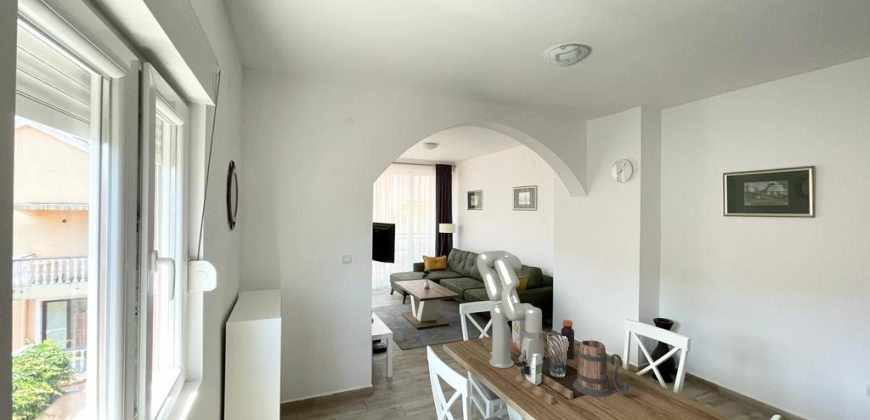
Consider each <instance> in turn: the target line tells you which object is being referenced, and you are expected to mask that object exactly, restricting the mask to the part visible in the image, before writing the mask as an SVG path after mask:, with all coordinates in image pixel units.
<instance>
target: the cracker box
mask: <svg viewBox="0 0 870 420" xmlns="http://www.w3.org/2000/svg"><path fill="white" fill-rule="evenodd" d="M511 322H512V323H511V325H512V326H511V330H512V332H511V334H512V335H511V336H512V338H511V339H512V342H511V343H512V345H513V346H514V347H515V348H516V349H517V350H518V352H519V353H522V343H523V338H524V337H525V320H519V321H511Z"/></svg>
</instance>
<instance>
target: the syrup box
mask: <svg viewBox="0 0 870 420" xmlns="http://www.w3.org/2000/svg"><path fill="white" fill-rule="evenodd" d="M526 363H527V361H526ZM542 374H543V372H542V357H541V354H533V359H532V361H530V363H529V375H526V374H525V378H526V379H527V380H529V381H530V382H532V383H533V384H535V385H536V386H539V385H540V384H542V383H543V382H542Z"/></svg>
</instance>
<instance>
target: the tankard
mask: <svg viewBox="0 0 870 420" xmlns="http://www.w3.org/2000/svg"><path fill="white" fill-rule="evenodd" d="M577 352H578V353H577V354H578V366H577V375H576V376H577V378H576V379H575V381H574V382H573V383H572V387H573V389H575V390H576V391H577V392H579V393H581V394H584V395H587V396H590V397H594V398H595V397H596V398H607V397H609V396H612V395H613V394H614V389H613V388H612V387H611V385H610V384H609V374H608V363H607V362H609V364H610V365H611V366H614V365H615V358H616V359H617V361H618V363H617V365H616V366H615V368H614V370H613V374H612V377H613V383H614V387H615V389H616V390H617V391H618V392H620V393H622V394H626V393H627V392H628V391H629V390H630V385H629V383H628V382H626V381H623V382H621V384H620V385H619V383H618V377H617V373H618V371H619V370H618V369H620V367H621V365H622V361H623V360H622V357H621V356H620V355H619V354H617V353H614V354H611V355H610V356H608V354H607V352H606V347H605V345H604V344H603V343H602V342H601V341H598V340H594V339H593V340H581V341H580V345H579V348H578V351H577ZM607 360H608V361H607Z"/></svg>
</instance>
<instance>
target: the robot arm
mask: <svg viewBox="0 0 870 420" xmlns="http://www.w3.org/2000/svg"><path fill="white" fill-rule="evenodd" d="M476 266H477V270H478V271H479V274H480V276H481V278H482V280H483V283H484V288H485V290H486V293H487V296H488V297H487V298H488V299H489V300H490V301H491V302H494V303H495V302H499V303H495V304H493V305H492V307H490V309H489V310H490V319H491V326H492V327H491V329H492V336H491V337H492V341H491V342H492V345H491V346H492V349H491V350H492V351H490V353H489V354H490V355H491V358H490V359H489V361H488V362H489V364H490V366H492V367H495V368H498V369H509V368H512V367H513V366H514V363H515V362H514V360H512V358H511V356H512V355H511V354H512V353H511V351H512V349H511V347H512V346H511V345H512V344H511V343H512V342H511V339H512V338H511V336H512V335H511V334H512V332H511V328H510V326H509V324H508V322H510V321H511V322H512V321H519V320H525V337H524V338H523V343H522V352H521V354H520V356H519V357H518V360H519V361H520V363H521V364H522V365H523V366H524V373H525V374H526V375H529V363H530V361H532V359H533V354H541V357H542V373H543V371H544V369H543V368H544V367H543V365H544V364H545V361H546V359H547V356H548V355H549V353H548V352H547V351H546V350H545V343H544V338H543V334H544V331H543V330H542V329H543V324H542V323H543V319H542V318H543V314H542V313H543V312H542V311H543V310H542V309H541V308H539V307H536V306H533V305H532V304H531V303H527V302H525V303H521V301H520V298H519V295H518V293H517V289H516V288H517V287H519V285H520V280H519V278H518V276H517V272H520V271H521V270H522V261H521V260H520V258H519V257H518V256H517V255H514V254H512V253H511V252H509V251H507V250H506V251H505V250H488V251H483V252H480V253H479V254H478V256H477V259H476ZM492 267H495V268H492ZM494 269H495V270H494ZM526 361H527V363H526Z"/></svg>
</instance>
